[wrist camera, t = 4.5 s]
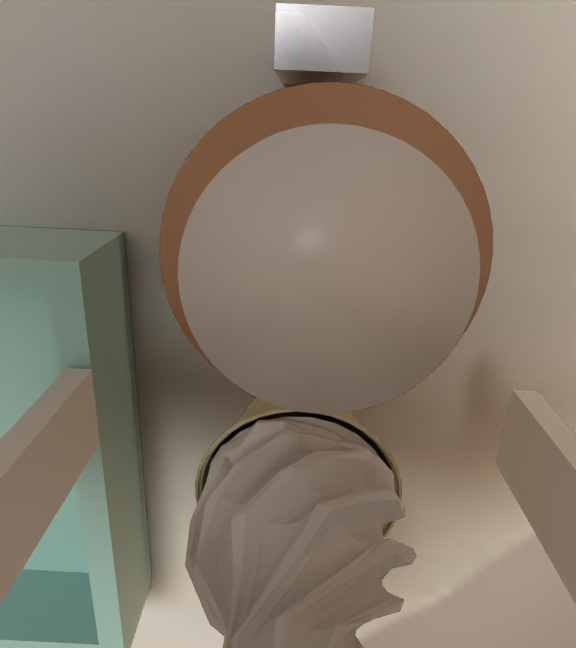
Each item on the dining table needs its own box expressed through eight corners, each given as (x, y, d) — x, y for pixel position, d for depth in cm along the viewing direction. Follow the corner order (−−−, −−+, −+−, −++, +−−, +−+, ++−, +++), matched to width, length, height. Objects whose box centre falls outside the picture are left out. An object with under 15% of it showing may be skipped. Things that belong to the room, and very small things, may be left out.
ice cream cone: (265, 425, 21) (196, 1012, 7) (213, 319, 19) (-4, 830, 6) (381, 386, 20) (550, 967, 7) (338, 273, 19) (445, 734, 5)
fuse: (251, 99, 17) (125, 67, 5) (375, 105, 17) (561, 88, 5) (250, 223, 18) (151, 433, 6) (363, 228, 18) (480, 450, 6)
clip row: (284, 41, 16) (276, 2, 10) (349, 44, 16) (374, 7, 10) (266, 558, 24) (256, 692, 18) (309, 560, 24) (311, 695, 18)
